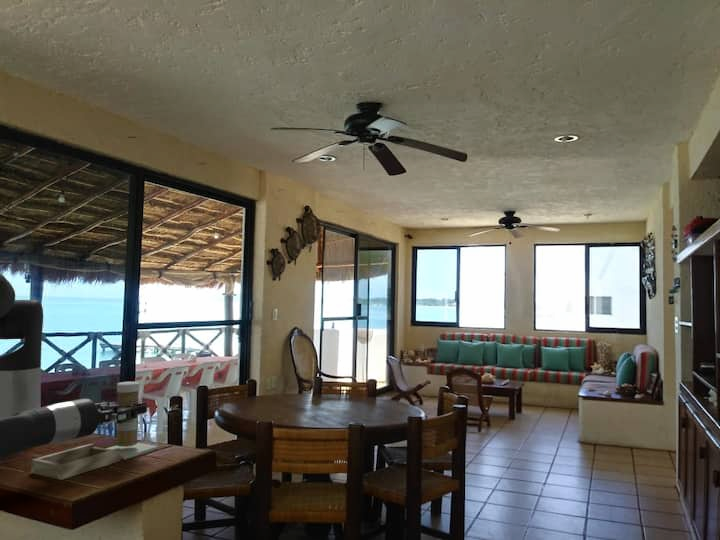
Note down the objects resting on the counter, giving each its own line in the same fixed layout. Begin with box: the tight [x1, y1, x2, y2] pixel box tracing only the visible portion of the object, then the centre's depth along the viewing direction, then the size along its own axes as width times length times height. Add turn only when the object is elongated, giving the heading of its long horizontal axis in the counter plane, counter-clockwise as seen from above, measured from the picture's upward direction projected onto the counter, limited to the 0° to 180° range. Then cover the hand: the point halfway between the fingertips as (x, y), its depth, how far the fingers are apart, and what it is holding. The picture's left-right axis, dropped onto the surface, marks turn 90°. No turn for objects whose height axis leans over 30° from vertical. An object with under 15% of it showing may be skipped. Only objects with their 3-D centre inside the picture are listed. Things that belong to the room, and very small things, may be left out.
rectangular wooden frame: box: [30, 443, 121, 481], centre depth 114 cm, size 13×9×2 cm
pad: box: [105, 442, 159, 460], centre depth 124 cm, size 9×9×1 cm
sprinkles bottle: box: [115, 381, 140, 447], centre depth 124 cm, size 5×5×14 cm
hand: (137, 406), depth 127 cm, fingers closed on sprinkles bottle, 4 cm apart
